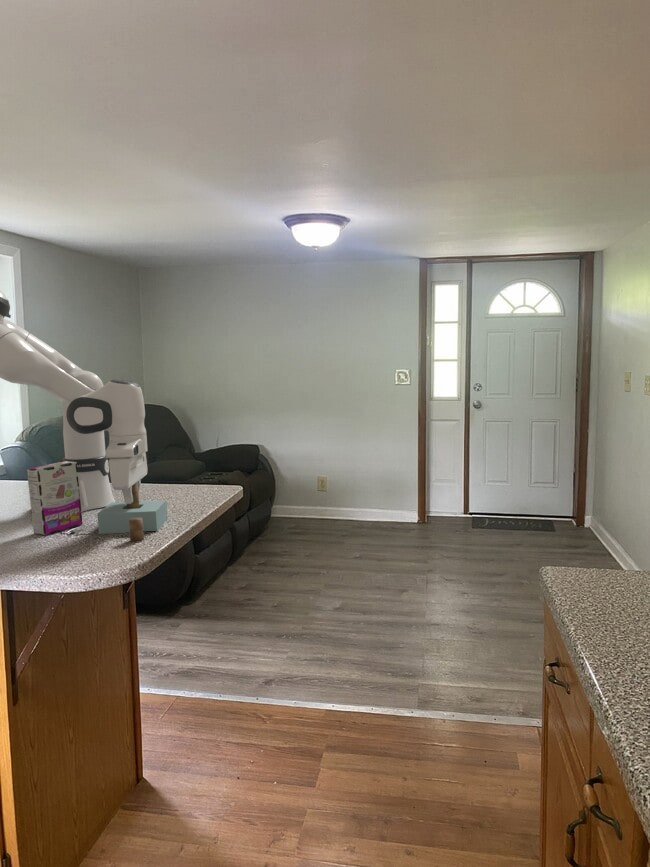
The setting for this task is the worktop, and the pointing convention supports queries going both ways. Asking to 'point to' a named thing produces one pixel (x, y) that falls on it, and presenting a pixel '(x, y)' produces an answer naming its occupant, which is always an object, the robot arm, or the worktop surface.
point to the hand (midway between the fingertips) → (132, 500)
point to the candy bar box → (54, 497)
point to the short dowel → (136, 529)
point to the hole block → (132, 516)
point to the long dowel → (134, 497)
